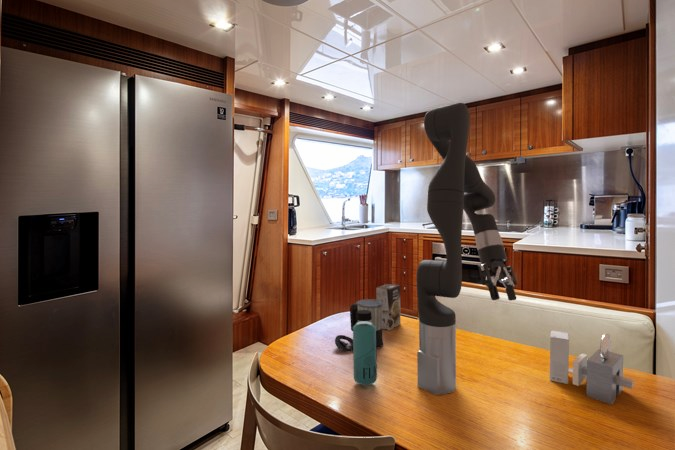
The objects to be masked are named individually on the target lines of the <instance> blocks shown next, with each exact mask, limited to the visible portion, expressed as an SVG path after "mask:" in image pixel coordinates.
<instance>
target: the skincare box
mask: <svg viewBox="0 0 675 450" xmlns="http://www.w3.org/2000/svg"><path fill="white" fill-rule="evenodd" d="M549 343H550V346H549V347H550V349H549V351H550V352H549V361H550V362H549V381H552V382H556V383H561V384H566V385H568V384H569V372H568V368H570V367H569V366H570V364H569V362H570V361H569V359H570V355H569V354H570V337H569V332H563V331H557V330H551V331H550V342H549Z"/></svg>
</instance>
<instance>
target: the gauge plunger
mask: <svg viewBox="0 0 675 450" xmlns="http://www.w3.org/2000/svg"><path fill="white" fill-rule="evenodd" d="M587 360H588V354H586V353H581V354H580V355H578V356H577V357H576V358H575V359H574V360H573V361H572V369H573V373H572V384H573V385H574V386H578V387H579V386H580V385H581V384H582V383H583V381H584V380H586V379H587V378H586V377H587ZM634 383H635V382H634V379H631V378H627V377H624V376H623V377H620V376H617V375H616V385H620V386H623V388H626V389H627V388H628V389H630V390H633V388H634Z"/></svg>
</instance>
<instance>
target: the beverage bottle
mask: <svg viewBox="0 0 675 450" xmlns="http://www.w3.org/2000/svg"><path fill="white" fill-rule="evenodd" d="M356 319H357V320H359V321H361V322H358V323H356V324H355V325H354V326H353V331H352V339H353V350H352V351H353V354H352V355H353V356H352V358H353V359H352V360H353V362H352V364H353V381H354V382H355V383H357V384H359V385H363V386H365V385H366V386H369V385H372V384H375V383H376V381H377V379H378V370H377V369H378V364H377V359H378V358H377V357H378V356H377V349H376V346H377V345H376V343H377V341H376V327H375V326H374V325H373V324H372V323H371V322H367V321H369V320H371V319H372V316H371V311H369V310H359V311H357V316H356Z"/></svg>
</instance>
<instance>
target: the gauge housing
mask: <svg viewBox="0 0 675 450" xmlns="http://www.w3.org/2000/svg"><path fill="white" fill-rule="evenodd" d="M611 346H612V337H611V335H610V334H609V333H606V332H604V333H603V334H602V336H601V339H600V346H599V348H598V349H597V350H596V351H595V352H594V353H593V354H592V355H591V356H590V357H589V358H587V377H586V378H585V379H586V397H589V398H591V399H594V400H598V401H599V402H603V403H606V404H609V405H613V404H614V403H615V401H616V399H617V395H618V396H619V395H621V393H622V392H623V390H624V389H623V388H624V387H623V386H620V385H616V375H617V376H620V377H624V354H619V353H617V352H611V348H612V347H611ZM568 373H570V374H573V367H569V368H568Z"/></svg>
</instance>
